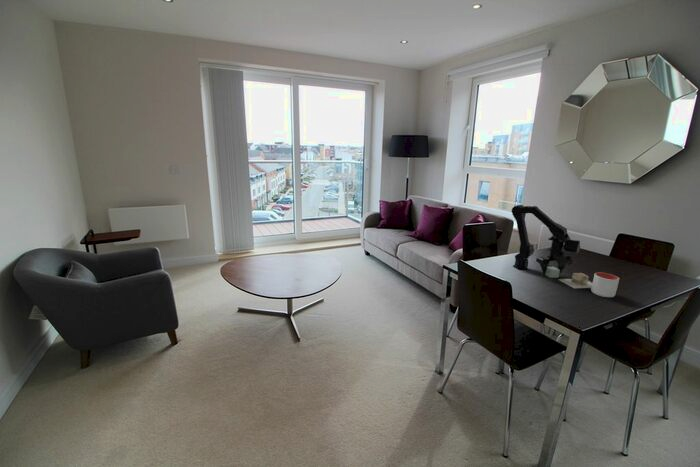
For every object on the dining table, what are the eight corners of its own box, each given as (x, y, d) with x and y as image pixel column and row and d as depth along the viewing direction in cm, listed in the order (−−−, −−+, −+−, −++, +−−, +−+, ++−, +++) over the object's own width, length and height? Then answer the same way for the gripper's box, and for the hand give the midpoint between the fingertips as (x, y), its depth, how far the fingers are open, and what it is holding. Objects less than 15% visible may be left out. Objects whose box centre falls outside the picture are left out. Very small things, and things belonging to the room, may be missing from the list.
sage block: (550, 278, 185) (551, 270, 184) (544, 275, 190) (545, 267, 188) (558, 278, 185) (560, 270, 184) (552, 274, 190) (553, 266, 189)
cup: (610, 291, 169) (614, 273, 166) (618, 299, 160) (623, 281, 157) (587, 288, 172) (591, 271, 169) (594, 296, 163) (598, 278, 160)
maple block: (578, 285, 175) (580, 276, 174) (571, 281, 180) (573, 273, 179) (586, 284, 176) (588, 276, 174) (579, 281, 180) (581, 272, 179)
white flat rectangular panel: (574, 288, 171) (574, 288, 171) (557, 279, 183) (557, 279, 183) (601, 287, 173) (601, 287, 173) (583, 279, 184) (583, 278, 184)
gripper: (551, 253, 174) (546, 280, 178) (583, 252, 176) (577, 279, 180) (537, 247, 185) (533, 272, 189) (567, 246, 187) (562, 271, 191)
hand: (551, 274), depth 187 cm, fingers open, 9 cm apart
